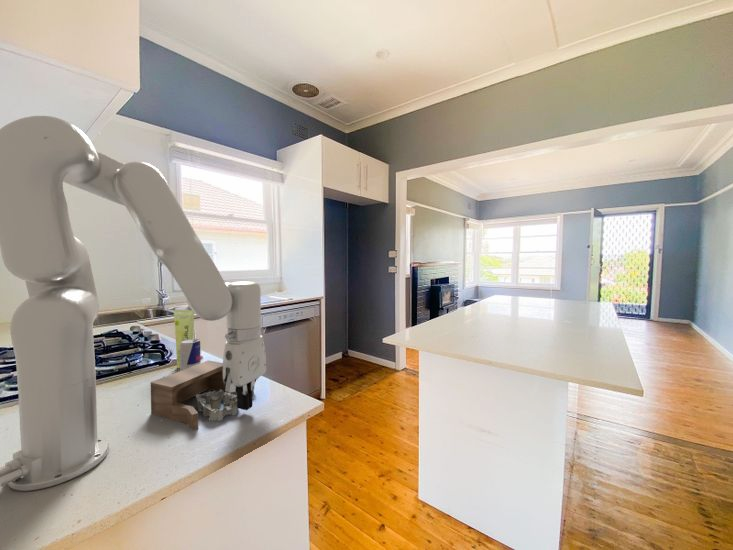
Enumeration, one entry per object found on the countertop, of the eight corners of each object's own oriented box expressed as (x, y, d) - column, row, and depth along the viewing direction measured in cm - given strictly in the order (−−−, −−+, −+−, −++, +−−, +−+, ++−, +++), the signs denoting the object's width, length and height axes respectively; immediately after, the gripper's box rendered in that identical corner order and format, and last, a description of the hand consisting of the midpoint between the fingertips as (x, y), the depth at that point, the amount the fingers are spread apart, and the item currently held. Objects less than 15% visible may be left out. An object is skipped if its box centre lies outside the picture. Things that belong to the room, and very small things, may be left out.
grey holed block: (242, 413, 73) (242, 396, 73) (209, 425, 68) (209, 407, 67) (224, 398, 80) (224, 383, 80) (193, 408, 75) (193, 392, 75)
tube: (175, 370, 98) (174, 311, 97) (174, 365, 102) (173, 309, 101) (194, 367, 101) (194, 310, 100) (193, 362, 105) (192, 308, 104)
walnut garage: (193, 430, 65) (193, 396, 64) (144, 416, 70) (143, 384, 70) (255, 393, 83) (255, 366, 83) (212, 384, 88) (212, 358, 88)
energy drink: (203, 379, 92) (202, 340, 91) (183, 384, 88) (183, 344, 87) (197, 374, 95) (196, 337, 95) (178, 379, 91) (177, 340, 91)
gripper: (232, 343, 63) (233, 427, 64) (276, 328, 77) (276, 397, 78) (205, 339, 66) (207, 420, 67) (253, 325, 80) (253, 392, 81)
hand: (244, 407), depth 73 cm, fingers closed
